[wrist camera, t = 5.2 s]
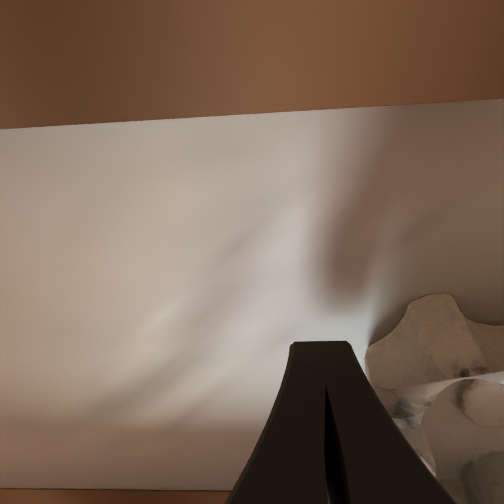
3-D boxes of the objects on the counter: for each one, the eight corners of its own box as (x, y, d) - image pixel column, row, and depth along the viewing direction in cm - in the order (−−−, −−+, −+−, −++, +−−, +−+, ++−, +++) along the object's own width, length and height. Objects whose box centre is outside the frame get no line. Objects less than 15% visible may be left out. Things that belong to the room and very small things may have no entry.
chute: (-27, 525, 17) (-98, 648, 14) (-342, -1, 9) (-683, 6, 6) (471, 535, 15) (518, 676, 12) (630, -92, 7) (885, -151, 4)
